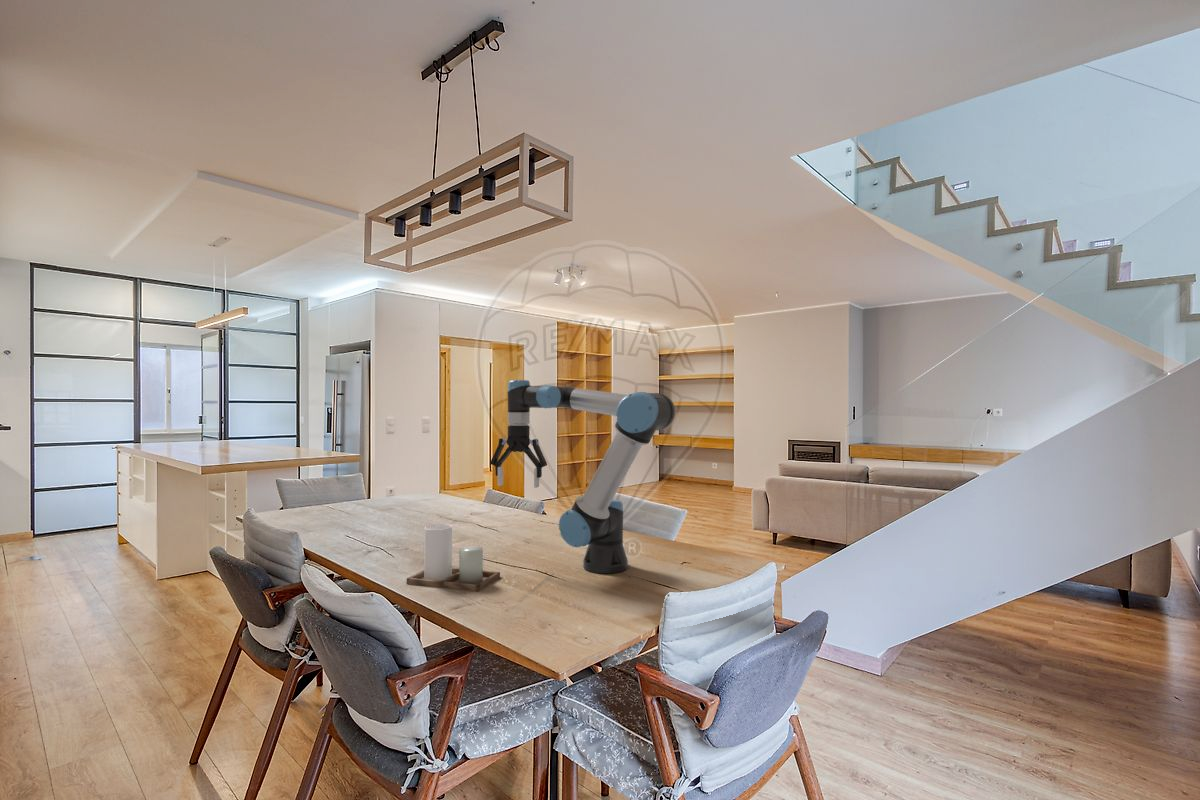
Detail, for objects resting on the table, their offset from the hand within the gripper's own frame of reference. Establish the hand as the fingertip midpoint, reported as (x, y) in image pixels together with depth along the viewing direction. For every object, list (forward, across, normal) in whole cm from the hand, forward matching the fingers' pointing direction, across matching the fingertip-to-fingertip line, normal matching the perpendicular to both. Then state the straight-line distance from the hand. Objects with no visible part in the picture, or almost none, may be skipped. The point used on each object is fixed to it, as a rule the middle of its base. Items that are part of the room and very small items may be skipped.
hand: (518, 486), depth 195 cm
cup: (+26, +16, +25) cm, 39 cm away
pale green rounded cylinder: (+26, +4, +25) cm, 36 cm away
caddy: (+27, +10, +25) cm, 38 cm away
